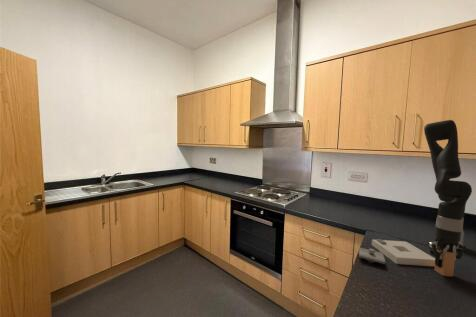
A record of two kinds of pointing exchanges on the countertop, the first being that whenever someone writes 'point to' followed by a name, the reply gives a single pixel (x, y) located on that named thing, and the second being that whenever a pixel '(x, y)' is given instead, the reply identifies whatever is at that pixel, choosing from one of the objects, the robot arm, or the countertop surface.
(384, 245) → the socket
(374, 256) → the light switch
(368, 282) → the countertop surface
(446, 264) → the plug
